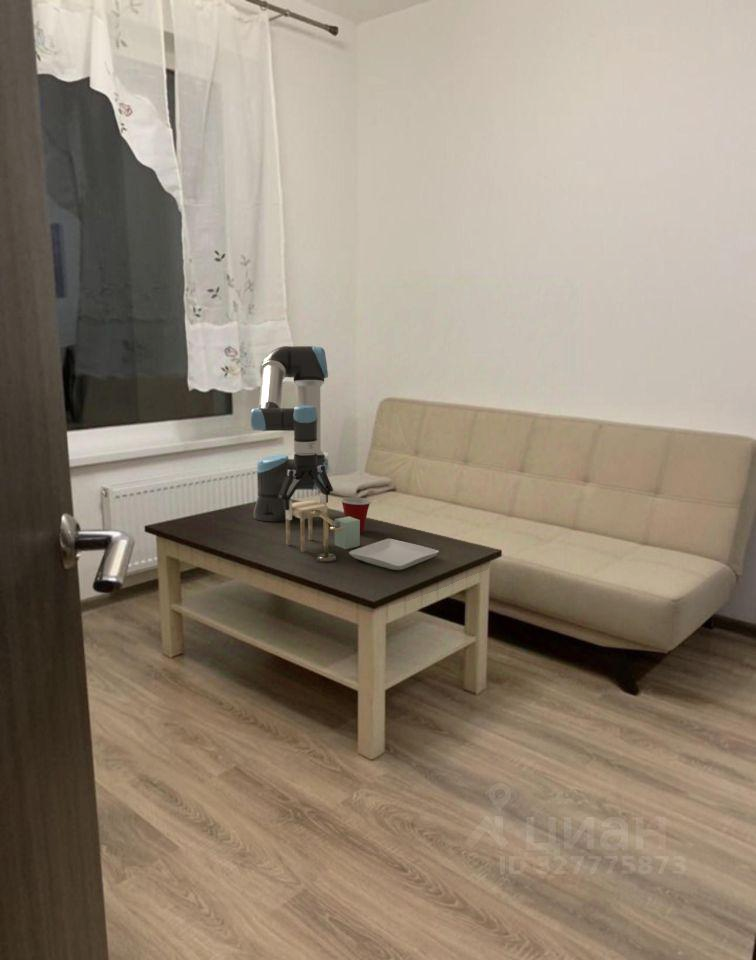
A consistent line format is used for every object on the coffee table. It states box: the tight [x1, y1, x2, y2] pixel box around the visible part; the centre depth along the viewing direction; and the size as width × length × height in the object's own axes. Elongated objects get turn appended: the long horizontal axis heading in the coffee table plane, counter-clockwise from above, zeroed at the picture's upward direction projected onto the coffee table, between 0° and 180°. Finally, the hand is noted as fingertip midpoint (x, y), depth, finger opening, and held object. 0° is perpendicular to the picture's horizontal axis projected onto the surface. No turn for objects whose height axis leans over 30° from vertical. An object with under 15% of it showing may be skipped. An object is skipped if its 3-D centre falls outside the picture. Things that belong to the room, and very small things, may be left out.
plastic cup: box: [340, 496, 372, 535], centre depth 268 cm, size 11×11×12 cm
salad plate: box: [348, 538, 440, 571], centre depth 239 cm, size 21×21×3 cm
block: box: [334, 516, 361, 550], centre depth 253 cm, size 6×6×9 cm
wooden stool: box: [285, 499, 328, 553], centre depth 251 cm, size 10×10×14 cm
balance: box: [311, 510, 343, 563], centre depth 237 cm, size 15×6×15 cm, turn 39°
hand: (306, 516), depth 251 cm, fingers open, 13 cm apart
